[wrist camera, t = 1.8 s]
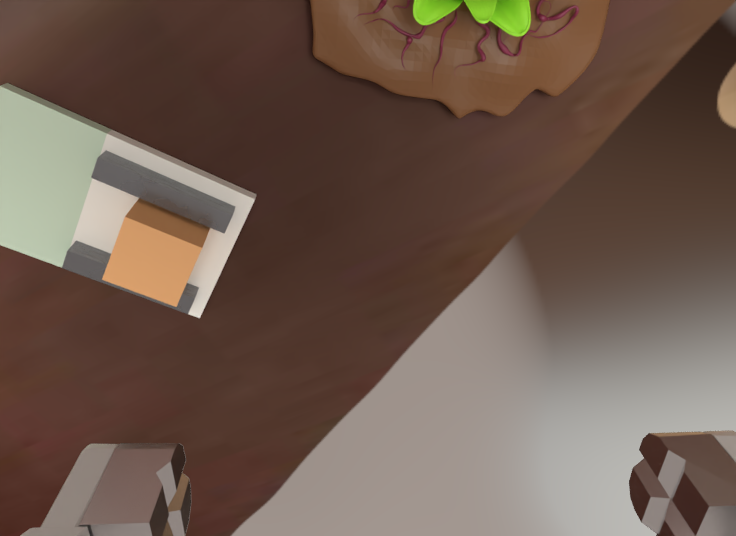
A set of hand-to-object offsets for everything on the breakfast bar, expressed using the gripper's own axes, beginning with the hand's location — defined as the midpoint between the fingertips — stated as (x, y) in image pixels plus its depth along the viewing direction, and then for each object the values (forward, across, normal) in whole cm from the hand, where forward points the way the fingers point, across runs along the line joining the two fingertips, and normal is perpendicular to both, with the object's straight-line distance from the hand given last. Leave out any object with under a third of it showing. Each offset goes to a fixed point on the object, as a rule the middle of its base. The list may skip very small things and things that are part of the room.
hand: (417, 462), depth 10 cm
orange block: (+30, +14, +9) cm, 34 cm away
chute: (+30, +22, +5) cm, 38 cm away
